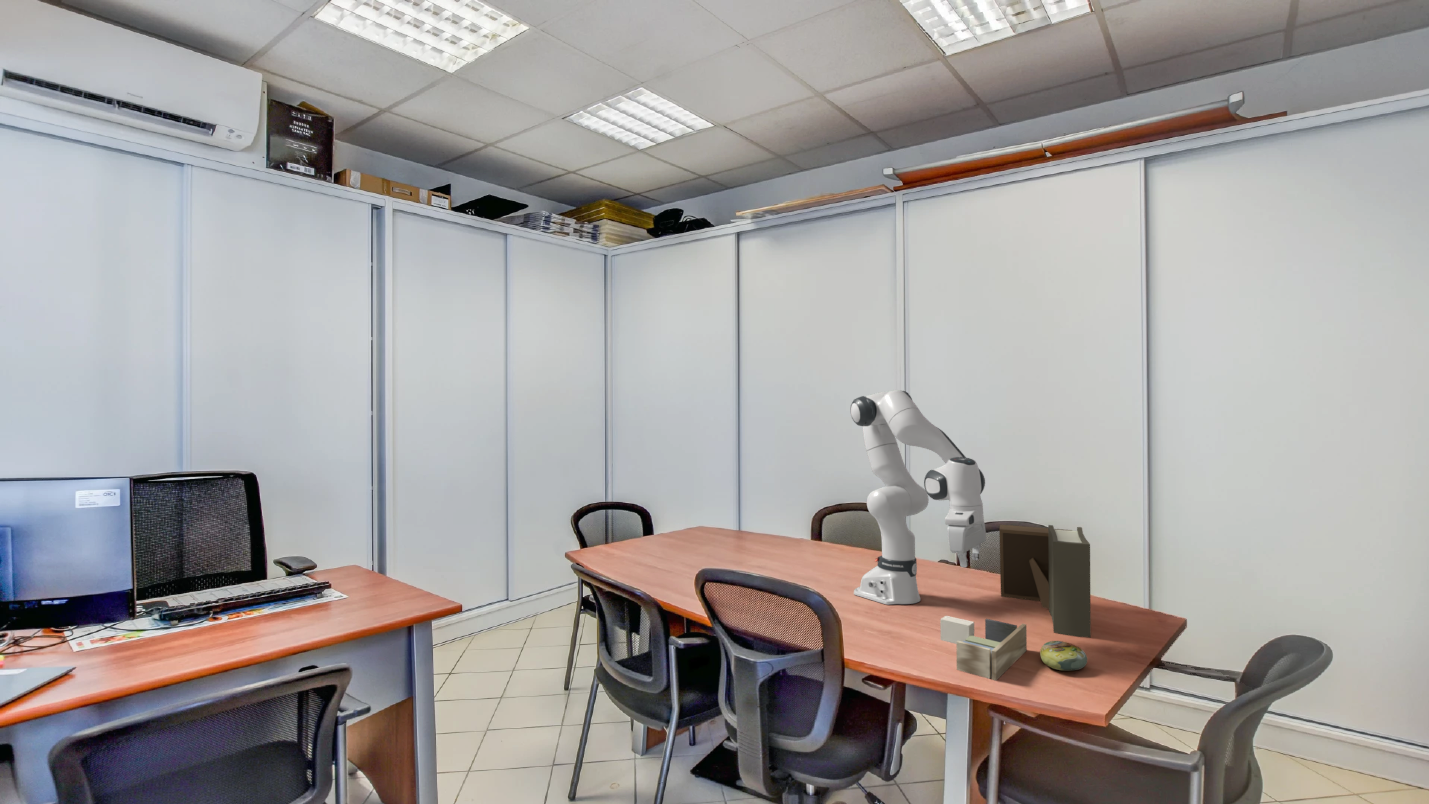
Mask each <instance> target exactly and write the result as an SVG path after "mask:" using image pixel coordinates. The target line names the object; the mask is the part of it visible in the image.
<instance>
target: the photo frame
mask: <svg viewBox="0 0 1429 804" xmlns="http://www.w3.org/2000/svg"><path fill="white" fill-rule="evenodd" d="M1056 529H1057V530H1065V529H1060V528H1056ZM1067 530H1068V531H1074V530H1072V529H1067ZM998 531H999V532H998V533H999V567H1000V568H999V569H1000V571H999V572H1000V573H999V575H1000V578H999V579H1000V597H1004V598H1008V599H1009V598H1010V599H1017V600H1018V599H1019V600H1026V601H1034V602H1040V603H1041V607H1042V608H1043V609H1044V608H1045V609H1047V610H1049V547H1048V527H1035V526H1023V525H1022V526H1021V525H1012V524H1011V525H1008V524H1000V525H999V530H998Z"/></svg>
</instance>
